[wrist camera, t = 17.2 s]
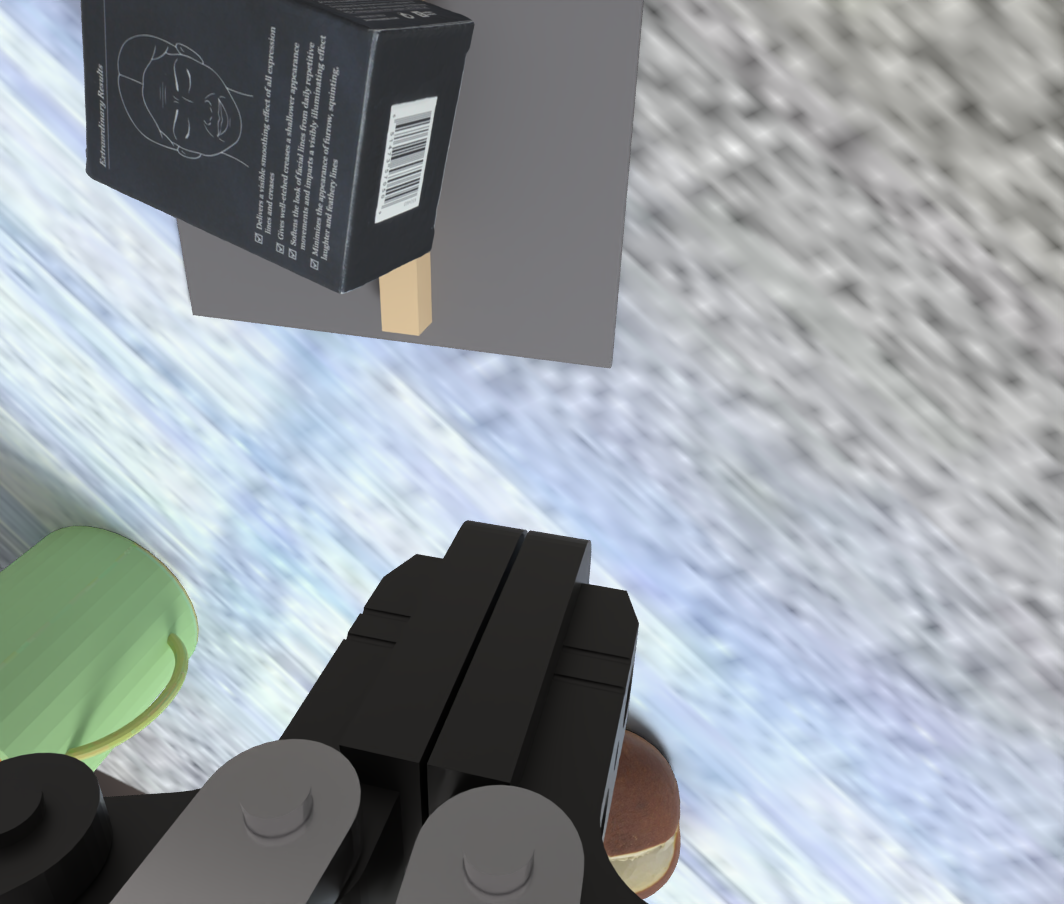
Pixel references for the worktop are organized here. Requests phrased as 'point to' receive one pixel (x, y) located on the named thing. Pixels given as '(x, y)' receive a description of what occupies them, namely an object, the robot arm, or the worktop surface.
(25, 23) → the worktop surface
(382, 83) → the box
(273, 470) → the worktop surface
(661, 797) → the bread
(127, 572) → the mug
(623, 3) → the mat
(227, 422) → the worktop surface
